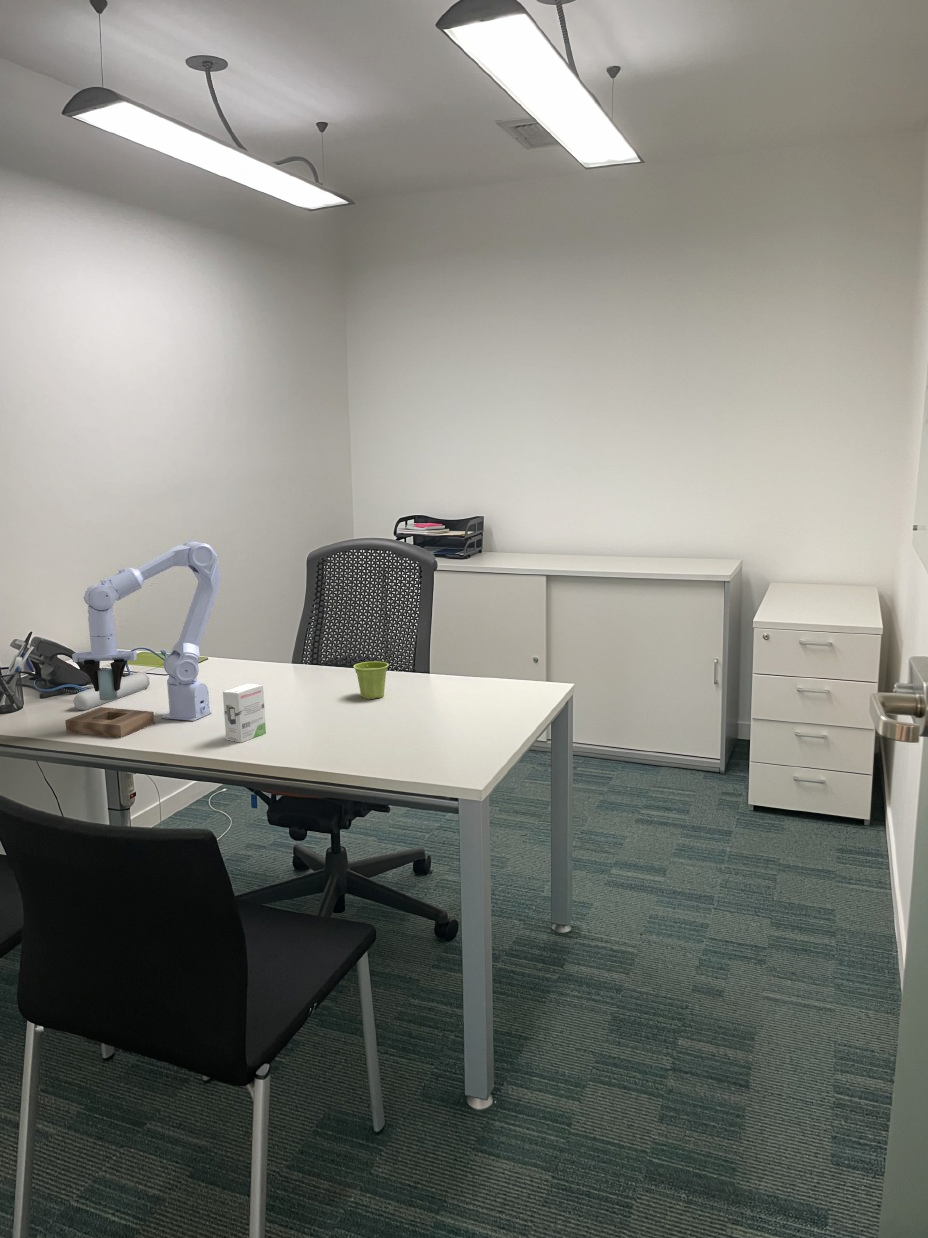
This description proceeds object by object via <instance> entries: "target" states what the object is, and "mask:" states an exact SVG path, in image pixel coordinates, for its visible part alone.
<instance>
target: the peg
mask: <svg viewBox="0 0 928 1238" xmlns="http://www.w3.org/2000/svg"><path fill="white" fill-rule="evenodd" d="M97 673H98V685H99V697H100V700H113V699H116V698H117V691H115V690H114V680H113V673H112V669H111V667H109V668H100V670H97ZM116 700H117V699H116ZM113 701H114V700H113Z"/></svg>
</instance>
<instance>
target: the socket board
mask: <svg viewBox="0 0 928 1238" xmlns="http://www.w3.org/2000/svg"><path fill="white" fill-rule="evenodd" d="M154 724H155V713H154V711H148V710H136V709H128V708H127V709H126V708H114V707H103V706H98V707H96V708H93V709H92V710H91V709H90V710H88V711H86V712H84V713H81V714H79V715H78V714H77V715H75V716H72V717H70V718H67V719H65V730H66V733H69V734H81V735H90V736H91V735H92V736H98V735H99V736H100V737H108V736H109V737H110V738H118V737H122V738H125V737H126V735H127V736H129V735H132V734H134V733H136V732H138V731H141V730H143V729H146V728H148V727H149V726H152V725H154ZM147 726H148V727H147ZM140 729H141V730H140ZM133 732H134V733H133ZM109 737H108V738H109Z"/></svg>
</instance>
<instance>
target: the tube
mask: <svg viewBox="0 0 928 1238" xmlns="http://www.w3.org/2000/svg"><path fill="white" fill-rule="evenodd" d="M150 684H151V682H150V675H148V674H147V673H146V672H145V671H136V672H135V673H131V674H129V675H126V676H122V678H121V684H120V689H119V690H118V691H117V698H116V699H113V700H100V697H99V691H97V692H95V689H94V687H91V688H88V689H86V690H83V691H80V692H77V694H76V695H75V697H74V698H73V699H72V702H73V703H72V704H73V705H74V707H75V708H76V710H78V711H87V710H88V711H89V710H91V709H95V708H98V707H100V706H103V705H105V704H108V703H110V702H113V701H116V700H118V699H121V698H124V697H127V696H129V695H132V694H136V693H138V692H141V691H145V690H148V688H149V686H150Z"/></svg>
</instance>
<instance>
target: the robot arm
mask: <svg viewBox="0 0 928 1238" xmlns="http://www.w3.org/2000/svg"><path fill="white" fill-rule="evenodd" d="M173 567H185V568H187V567H188V568H189V569H190V570H191V571H192V573H193V574H194V577H195V578H196V580H197V581H198V582H197V585H196V588H195V592H194V594H193V597H192V600H191V603H190V607H189V609H188V612H187V615H186V618H185V621H184V623H183V626H182V629H181V633H180V634H179V635H180V636H179V638H178V640H177V642H176V643H175V644H174V645H173V648H172V649H171V652H170V653H169V654H168V655H167V656H166V657H165V659H164V662H163V668H164V671H165V672H166V674H167V675H168V678H167V680H166V685H167V696H168V697H167V698H168V709H169V713H167V714H164V715H162V716H161V718H162V719H168V720H169V719H170V720H181V721H192V722H193V721H196V720H197V721H198V719H201V718H203V717H206V716H207V715H209V714H212V713H213V712H212V710H210V709H211V708H210V695H209V688H208V686H207V684H205V683H204V682H200V681H199V680H198V675H199V670H200V669H199V659H200V656H201V655H200V645H201V642H202V639H203V635H204V634H205V631H206V628H207V624H208V621H209V619H210V615H211V613H212V610H213V606H214V604H215V601H216V598H217V595H218V592H219V589H220V586H221V583H222V577H221V571H220V566H219V556H218V555H217V553H216V551H215V550H214V549H213V547H212V546H211V545H209V544H208V543H204V542H198V541H197V540H187V541H186V542H184V543H183V544H179V545H176V546H174V547H172V548H170V549H169V550H167V551H165V552H164V553H162V554H160V555H159V556H156V557H155V558H154V559H152V560H150V561H148V562H146V563H145V564H143V565H141V566H140V567H138V568H132V567H126V568H124V567H121V568H119V569H118V572H117V573H116V574H113V575H112V576H110V577H108V578H106V579H105V578H101V579H100V580H99V581H100V583H101V584H100V583H94V584H91V585H89V586H88V587H87V588H86V590H85V592H84V596H83V600H84V602H85V603H86V605H87V613H88V616H87V618H88V630H89V631H88V632H89V641H90V650H91V651H84V652H83V651H82V652H74V653H72V655H71V657H72V663H78V662H79V663H80V662H83V664H82V668H83V670H84V671H85V672H86V674H87V676H88V677H89V679H90V681H91V684H92V685H93V688H94V689H95V692H97V691H99V685H98V673H97V670H100V669H101V668H100V665H101V662H104V661H105V662H106V661H109V662H110V661H112V662H111V663H110V665H109V666H110V668H111V669H112V673H113V680H114V690H115V691H118V690H119V689H120V684H121V678H123V674H124V671H125V668H126V666H127V665H128V664H127V663H128V661H130V662H131V661H133V662H134V661H136V660H137V659H138V655H137V650H136V651H135V650H134V651H132V650H131V651H130V650H129V651H128V650H118V649H117V648H118V647H117V637H116V636H117V635H116V625H115V616H114V615H115V614H114V610H113V606H114V605H115V603H116V601H121V600H122V599H124V598H125V597H128V596H130V595H131V594H133V593H135V592H137V591H138V590H139V591H140V589H142V587H143V584H144V582H145V581H146V580H149V579H150V578H153V577H154V576H157V575H158V574H160V573H163V572H165V571H167V570H169V569H171V568H173Z"/></svg>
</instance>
